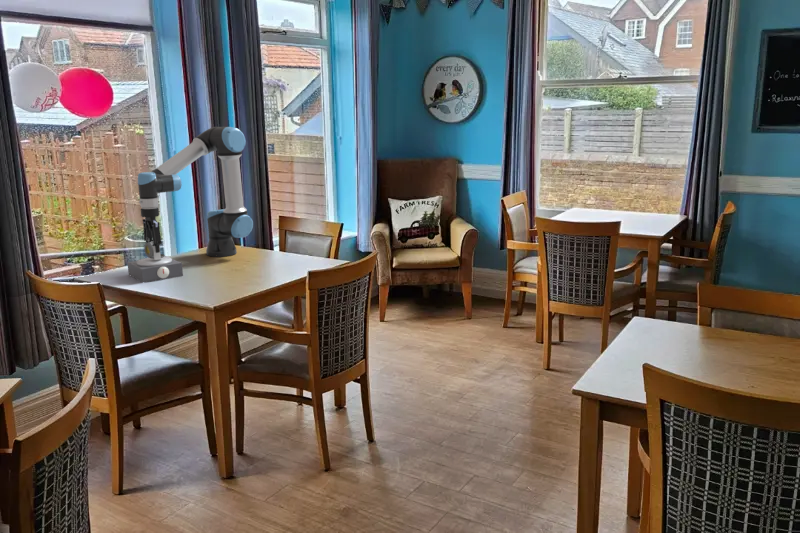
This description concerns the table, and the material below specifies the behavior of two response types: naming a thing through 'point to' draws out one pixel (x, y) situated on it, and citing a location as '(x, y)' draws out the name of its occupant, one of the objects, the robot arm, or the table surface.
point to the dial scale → (155, 269)
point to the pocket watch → (150, 250)
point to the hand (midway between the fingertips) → (154, 257)
